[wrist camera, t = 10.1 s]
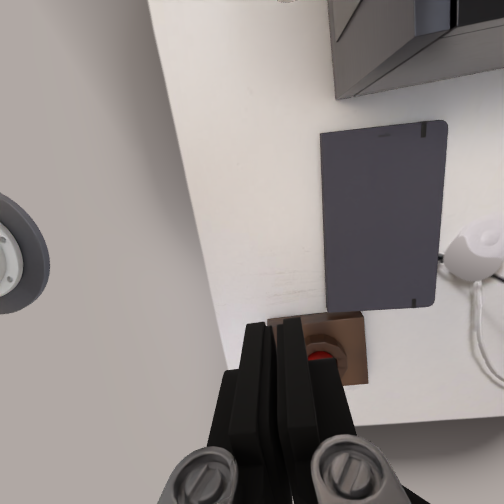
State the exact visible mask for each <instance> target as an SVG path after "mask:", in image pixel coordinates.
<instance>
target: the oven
mask: <svg viewBox="0 0 504 504" xmlns="http://www.w3.org/2000/svg"><path fill="white" fill-rule="evenodd" d="M501 68H504V0H451V7H450V30H449V31H447V32H446V33H444V34H443V35H441V36H440V37H438V38H437V39H435V40H434V41H432V42H431V43H430V44H428V45H427V46H425V47H424V48H422V49H421V50H419V51H418V52H416V53H415V54H413V55H412V56H411V57H409V58H408V59H406V60H405V61H403V62H402V63H400V64H399V65H397V66H396V67H394V68H393V69H392V70H390V71H389V72H387V73H386V74H384V75H383V76H381V77H380V78H378V79H377V80H375V81H374V82H373V83H371V84H370V85H368V86H367V87H365V88H364V89H362V90H361V91H359V92H358V93H356V94H355V95H354V96H353V97H356V96H361V95H366V94H372V93H377V92H382V91H387V90H392V89H398V88H403V87H408V86H413V85H418V84H423V83H429V82H434V81H439V80H444V79H449V78H455V77H460V76H465V75H470V74H475V73H481V72H486V71H491V70H496V69H501Z"/></svg>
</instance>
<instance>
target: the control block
mask: <svg viewBox="0 0 504 504" xmlns="http://www.w3.org/2000/svg"><path fill="white" fill-rule="evenodd" d="M294 317H301V322H302V327H303V333H304V339H305V345H306V351H307V356H308V357H309V356H310V355H311V354H312V353H314V352H318V351H323V352H327V353H329V354H330V355H331V356H332V357H334V358H335V361H336V364H337V367H338V371H339V374H340V378H341V381H342V385H343V386H347V385H358V384H368V369H367V355H366V342H365V328H364V317H363V315H362V313H361V311H350V312H333V313H328V312H326V313H317V314H309V315H300V316H291V317H283V318H274V319H268V320H267V326H271V325H272V328H273V333H274V338H275V343H276V347H277V325H278V324H283V319H286V318H294Z"/></svg>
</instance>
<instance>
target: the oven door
mask: <svg viewBox="0 0 504 504" xmlns="http://www.w3.org/2000/svg"><path fill="white" fill-rule="evenodd" d="M278 1H279V2H283V3H287V2H293V1H296V0H278ZM327 2H328V14H329V26H330V38H331V50H332V62H333V74H334V86H335V98H336V100H340V99H345V98H350V97H352V96H354V95H355V94H356V93H358V92H359V91H361V90H362V89H364V88H365V87H367V86H368V85H370V84H371V83H373V82H374V81H375V80H377V79H378V78H380V77H381V76H383V75H384V74H386V73H387V72H389V71H390V70H392V69H393V68H394V67H396V66H397V65H399V64H400V63H402V62H403V61H405V60H406V59H408V58H409V57H411V56H412V55H413V54H415V53H416V52H418V51H419V50H421V49H422V48H424V47H425V46H427V45H428V44H430V43H431V42H432V41H434V40H435V39H437V38H438V37H440V36H441V35H443V34H444V33H446V32H447V31H449V30H450V7H451V0H327Z"/></svg>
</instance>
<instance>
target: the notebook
mask: <svg viewBox="0 0 504 504" xmlns="http://www.w3.org/2000/svg"><path fill="white" fill-rule="evenodd" d="M447 136H448V124H447V123H446V122H445V121H443V120H435V121H423V122H417V123H408V124H399V125H390V126H381V127H372V128H364V129H355V130H346V131H337V132H328V133H321V134H320V147H321V175H322V202H323V230H324V257H325V285H326V308H327V311H328V313H333V312H350V311H367V310H385V309H402V308H419V307H429V306H431V305H432V304H433V303H434V300H435V289H436V277H437V264H438V251H439V238H440V226H441V213H442V200H443V187H444V175H445V162H446V149H447Z"/></svg>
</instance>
